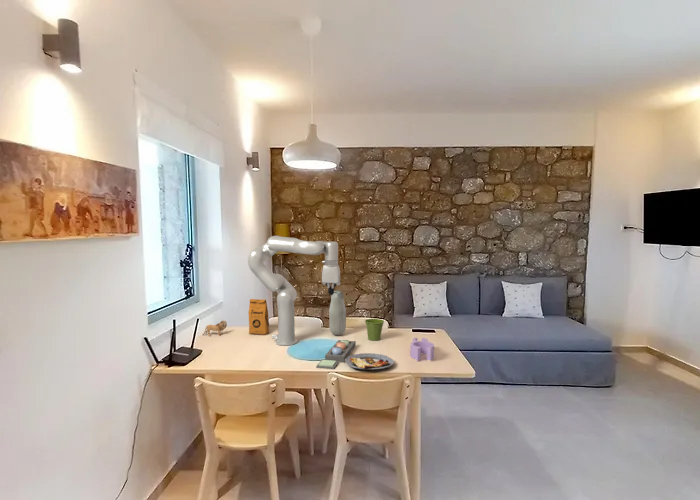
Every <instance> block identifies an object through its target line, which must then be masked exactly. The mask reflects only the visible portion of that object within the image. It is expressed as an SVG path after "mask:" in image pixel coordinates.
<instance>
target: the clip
mask: <svg viewBox="0 0 700 500" xmlns="http://www.w3.org/2000/svg"><path fill="white" fill-rule="evenodd" d="M409 349H410V351H409V353H410V355H409V357H410V356H411V357H412V358H414V359H413V360H415V359H416V360H417V361H416V360H415V361H416V362H420V361H421V355H426V354H427V355H426V361H427V360H430V361H431V360H432V361H433V360H434V359H435V343H433V342H431V341H429V339H428V338H425V337H422V338H421V340H418V337H413V338H412V342H410V348H409ZM421 353H423V354H421ZM411 357H410V358H411ZM412 358H411V359H412ZM433 358H434V359H433ZM419 360H420V361H419ZM430 361H429V362H430ZM432 361H431V362H432Z"/></svg>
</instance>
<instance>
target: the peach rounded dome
mask: <svg viewBox="0 0 700 500" xmlns="http://www.w3.org/2000/svg"><path fill="white" fill-rule="evenodd" d="M337 347H341V348H342V350H346V343H345V342H338V343H337Z"/></svg>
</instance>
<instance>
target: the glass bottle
mask: <svg viewBox="0 0 700 500" xmlns="http://www.w3.org/2000/svg"><path fill="white" fill-rule="evenodd" d="M330 297H331V298H330V299H331V300H330V304H329V310H328V315H329V316H328V317H329V319H328V320H329V324H328V325H329V331H330V332H331V334H333V335H334V336H342V335H344V333H345V332H346V328H347V308H346V305H345V300H344V292H342V291H341V290H339V289H338V290H335V289H334V294H333V295H330Z"/></svg>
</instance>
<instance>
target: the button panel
mask: <svg viewBox="0 0 700 500" xmlns="http://www.w3.org/2000/svg"><path fill="white" fill-rule="evenodd" d="M341 340H342V339H339V340H337V341H336V342H335V343H334V345H332V347H331V348H330V349H329V350H328V351H327V352H326V354H325V355H324V356H325V357H324V360H332V361H339V363H346V362H345V359H346V358H347V357H349V356H351V353H352V352H353V351H354V349H355V348H356V346H357V345H356V341H355V340H349V345H346V350H342V355H333V354H332V348H333V347H337V343H338V342H341Z"/></svg>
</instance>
